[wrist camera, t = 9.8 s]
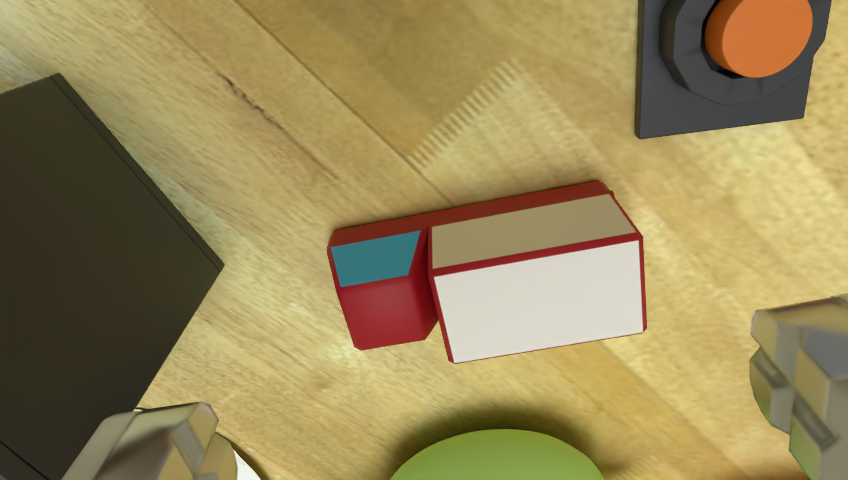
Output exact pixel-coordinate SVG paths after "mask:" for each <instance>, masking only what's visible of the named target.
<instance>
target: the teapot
mask: <svg viewBox="0 0 848 480" xmlns="http://www.w3.org/2000/svg"><path fill="white" fill-rule="evenodd" d="M390 480H604V478H603V476H602V474H601V472H600V471H599V470H598V468H597V467H596V466H595V465H594V464H593V462H592V461H591V460H590V459H589V458H588V457H586V456H585V455H584V454H583V453H581V452H580V451H578V450H577V449H575V448H574V447H572V446H570V445H568V444H567V443H565V442H563V441H561V440H559V439H557V438H554V437H552V436H549V435H546V434H542V433H538V432H533V431H525V430H515V429H490V430H480V431H474V432H469V433H464V434H461V435H457V436H453V437H451V438H448V439H445V440H442V441H440V442H437V443H435V444H433V445H431V446H429V447H427V448H425V449H423V450H422V451H420V452H419V453H417V454H416V455H414V456H413V457H412V458H410V459H409V460H408V461H407V462H406V463H404V464H403V465H402V466H401V467H400V468H399V469H398V470H397V472H396V473H395V474H394V475H393V476H392V477H391V479H390Z"/></svg>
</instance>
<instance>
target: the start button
mask: <svg viewBox="0 0 848 480" xmlns="http://www.w3.org/2000/svg"><path fill="white" fill-rule="evenodd" d="M812 23H813V16H812V10H811V7H810V4H809V3H808V1H807V0H721V1H720V2H719V3H718V4H717V5H716V6H715V8H714V9H713V11H712V13H711V15H710V17H709V19H708V22H707V25H706V29H705V45H706V49H707V51H708V54H709V55H710V57H711V59H712V60H713V61H714V62H715V63H717V64H718V65H719V66H721V67H723V68H725V69H728V70H730V71H732V72H735V73H737V74H740V75H742V76H745V77H750V78H760V77H766V76H769V75H772V74H775V73H777V72H779V71H781V70H782V69H784V68H786V67H787V66H788V65H790V64H791V63H792V62H793V61H794V60H795V59H796V58H797V57H798V56H799V55H800V53H801V52H802V51H803V49H804V47H805V46H806V44H807V42H808V40H809V37H810V34H811V30H812Z"/></svg>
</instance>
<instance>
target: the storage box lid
mask: <svg viewBox="0 0 848 480" xmlns="http://www.w3.org/2000/svg"><path fill="white" fill-rule="evenodd" d="M0 480H46V479H45V478H44V477H42V476H41V475H40V474H39V473H37V472H36V471H35V470H34V469H32V468H31V467H30V466H28V465H27V464H26V463H25V462H23V461H22V460H21V459H20V458H18V457H17V456H16V455H15V454H13V453H12V452H11V451H10V450H8V449H7V448H6V447H5V446H3V445H2V444H1V443H0Z"/></svg>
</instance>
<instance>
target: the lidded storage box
mask: <svg viewBox="0 0 848 480" xmlns="http://www.w3.org/2000/svg"><path fill="white" fill-rule="evenodd" d="M223 267H224V264H223V263H222V262H221V261H220V259H219V258H218V257H217V256H216V255H215V254H214V252H213V251H212V250H211V249H210V248H209V247H208V245H207V244H206V243H205V242H204V241H203V240H202V238H201V237H200V236H199V235H198V234H197V233H196V232H195V230H194V229H193V228H192V227H191V226H190V225H189V223H188V222H187V221H186V220H185V219H184V218H183V216H182V215H181V214H180V213H179V212H178V211H177V209H176V208H175V207H174V206H173V205H172V204H171V203H170V201H169V200H168V199H167V198H166V197H165V196H164V194H163V193H162V192H161V191H160V190H159V189H158V187H157V186H156V185H155V184H154V183H153V182H152V181H151V179H150V178H149V177H148V176H147V175H146V174H145V172H144V171H143V170H142V169H141V168H140V167H139V165H138V164H137V163H136V162H135V161H134V160H133V158H132V157H131V156H130V155H129V154H128V153H127V152H126V150H125V149H124V148H123V147H122V146H121V145H120V143H119V142H118V141H117V140H116V139H115V138H114V136H113V135H112V134H111V133H110V132H109V131H108V129H107V128H106V127H105V126H104V125H103V124H102V123H101V121H100V120H99V119H98V118H97V117H96V116H95V114H94V113H93V112H92V111H91V110H90V109H89V107H88V106H87V105H86V104H85V103H84V102H83V101H82V99H81V98H80V97H79V96H78V95H77V94H76V92H75V91H74V90H73V89H72V88H71V87H70V85H69V84H68V83H67V82H66V81H65V80H64V78H63V77H62V76H61V75H60V74H59V73H58V74H55V75H52V76H49V77H46V78H44V79H41V80H38V81H35V82H32V83H29V84H27V85H24V86H21V87H18V88H15V89H13V90H10V91H7V92H4V93H1V94H0V443H1V444H2V445H3V446H5V447H6V448H7V449H8V450H10V451H11V452H12V453H13V454H15V455H16V456H17V457H18V458H20V459H21V460H22V461H23V462H25V463H26V464H27V465H28V466H30V467H31V468H32V469H34V470H35V471H36V472H37V473H39V474H40V475H41V476H42V477H44V478H45V479H46V480H61V479H62V478H63V477H64V475H65V474H66V472H67V471H68V469H69V468H70V467H71V465H72V464H73V462H74V461H75V460H76V458H77V457H78V455H79V454H80V452H81V451H82V450H83V448H84V447H85V445H86V444H87V443H88V441H89V440H90V438H91V437H92V435H93V434H94V433H95V431H96V430H97V428H98V427H99V426H100V424H101V423H102V421H103V420H104V419H106V418H108V417H110V416H112V415H114V414H121V413H127V412H133V411H134V409H135V408H136V406H137V405H138V403H139V401H140V400H141V398H142V397H143V395H144V393H145V392H146V390H147V389H148V387H149V386H150V384H151V382H152V381H153V379H154V378H155V376H156V374H157V373H158V371H159V370H160V368H161V366H162V365H163V363H164V362H165V360H166V358H167V357H168V355H169V354H170V352H171V350H172V349H173V347H174V346H175V344H176V342H177V341H178V339H179V338H180V336H181V334H182V333H183V331H184V330H185V328H186V326H187V325H188V323H189V322H190V320H191V318H192V317H193V315H194V314H195V312H196V310H197V309H198V307H199V306H200V304H201V302H202V301H203V299H204V298H205V296H206V294H207V293H208V291H209V290H210V288H211V286H212V285H213V283H214V282H215V280H216V278H217V277H218V275H219V274H220V272H221V271H222V269H223Z"/></svg>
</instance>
